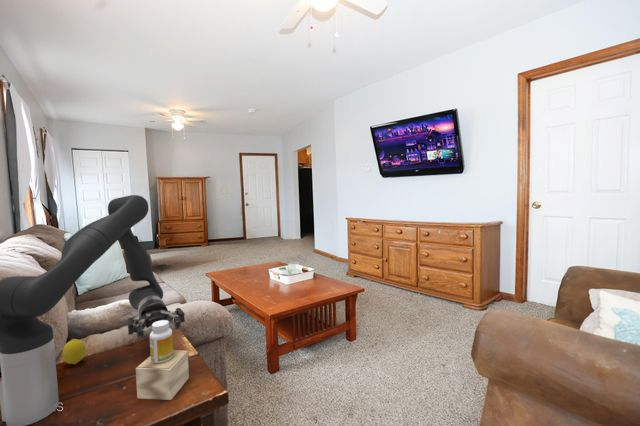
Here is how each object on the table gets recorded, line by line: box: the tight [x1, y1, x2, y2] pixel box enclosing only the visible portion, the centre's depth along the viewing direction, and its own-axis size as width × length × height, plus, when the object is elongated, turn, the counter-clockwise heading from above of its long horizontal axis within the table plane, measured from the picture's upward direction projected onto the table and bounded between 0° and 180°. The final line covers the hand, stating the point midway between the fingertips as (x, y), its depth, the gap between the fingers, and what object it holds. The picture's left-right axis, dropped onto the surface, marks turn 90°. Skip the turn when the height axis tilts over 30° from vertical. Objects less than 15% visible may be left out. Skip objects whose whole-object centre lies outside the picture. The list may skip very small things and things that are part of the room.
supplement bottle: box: [149, 320, 174, 363], centre depth 81 cm, size 5×5×10 cm
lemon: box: [61, 338, 87, 365], centre depth 93 cm, size 6×6×8 cm
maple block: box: [135, 349, 190, 401], centre depth 82 cm, size 9×9×8 cm
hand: (160, 329), depth 82 cm, fingers open, 8 cm apart
